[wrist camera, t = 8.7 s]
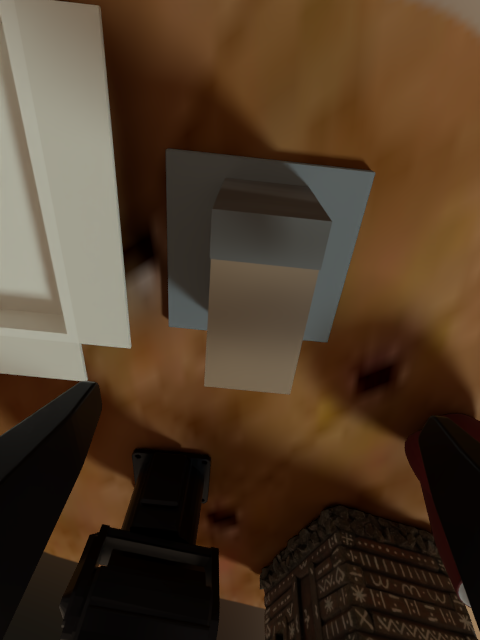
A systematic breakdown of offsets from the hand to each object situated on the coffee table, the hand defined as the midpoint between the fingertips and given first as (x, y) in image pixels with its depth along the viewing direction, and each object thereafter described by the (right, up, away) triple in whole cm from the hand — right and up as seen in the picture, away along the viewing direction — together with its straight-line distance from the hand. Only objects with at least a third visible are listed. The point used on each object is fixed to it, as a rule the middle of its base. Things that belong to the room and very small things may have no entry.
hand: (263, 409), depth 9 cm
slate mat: (0, +6, +10) cm, 12 cm away
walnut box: (0, +6, +10) cm, 11 cm away
